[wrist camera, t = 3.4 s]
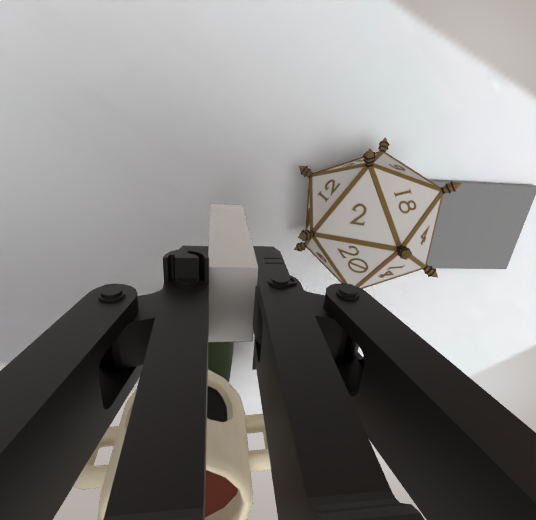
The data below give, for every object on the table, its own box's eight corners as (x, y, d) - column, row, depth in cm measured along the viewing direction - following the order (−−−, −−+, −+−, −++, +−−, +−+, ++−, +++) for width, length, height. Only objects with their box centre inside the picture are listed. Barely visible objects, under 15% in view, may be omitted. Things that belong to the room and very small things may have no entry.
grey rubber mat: (397, 264, 28) (400, 267, 27) (418, 179, 25) (423, 181, 25) (500, 265, 29) (506, 268, 29) (531, 184, 26) (538, 186, 26)
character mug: (262, 296, 27) (298, 449, 16) (260, 369, 30) (289, 542, 19) (112, 303, 26) (30, 476, 14) (126, 378, 29) (66, 572, 17)
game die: (405, 234, 27) (501, 307, 18) (297, 270, 27) (338, 361, 18) (389, 110, 23) (502, 123, 14) (262, 152, 23) (292, 193, 14)
